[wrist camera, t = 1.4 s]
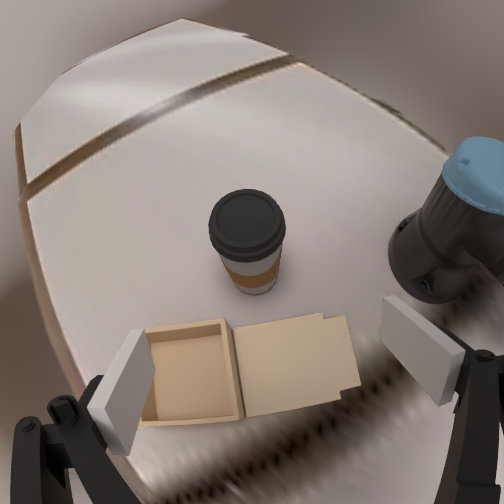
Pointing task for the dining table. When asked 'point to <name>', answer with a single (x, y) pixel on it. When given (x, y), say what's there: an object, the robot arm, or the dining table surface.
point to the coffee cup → (248, 238)
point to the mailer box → (246, 368)
